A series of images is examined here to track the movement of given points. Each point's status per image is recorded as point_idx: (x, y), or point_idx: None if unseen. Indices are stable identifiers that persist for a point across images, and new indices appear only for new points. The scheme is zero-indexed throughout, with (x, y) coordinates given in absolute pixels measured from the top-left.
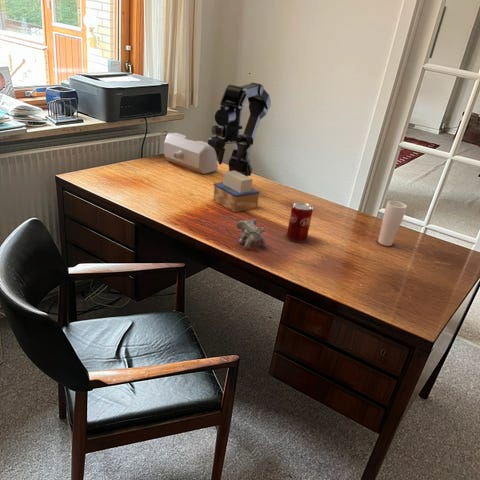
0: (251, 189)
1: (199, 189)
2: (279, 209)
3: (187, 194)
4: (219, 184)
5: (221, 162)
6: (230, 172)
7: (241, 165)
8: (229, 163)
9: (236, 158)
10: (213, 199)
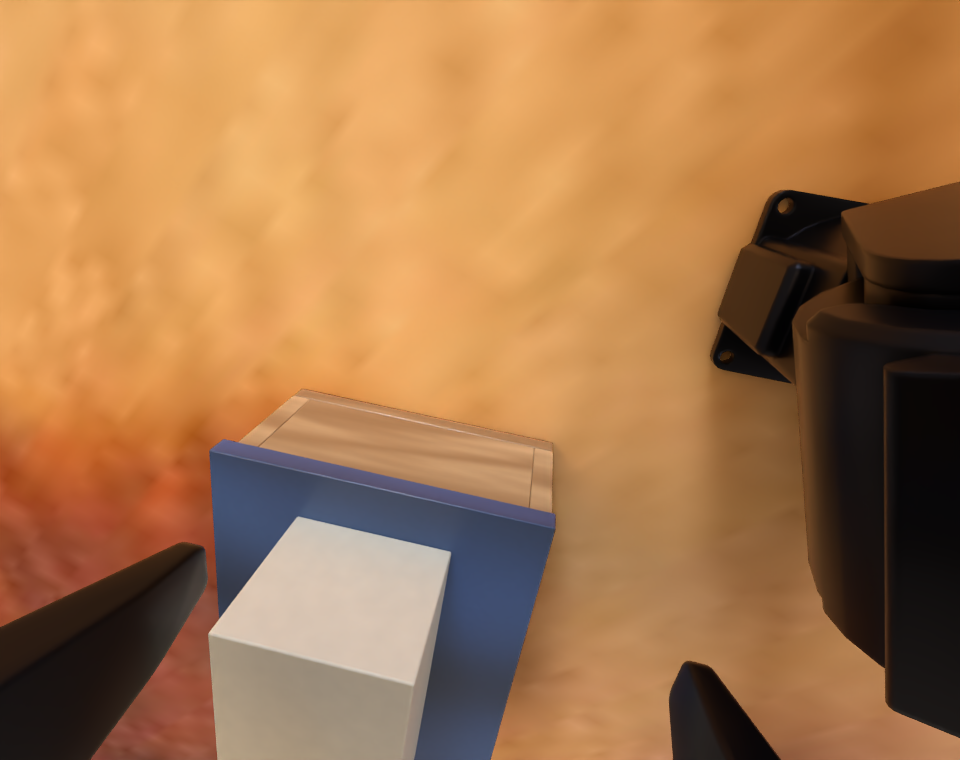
0: (457, 740)
1: (361, 89)
2: (613, 745)
3: (157, 143)
4: (251, 505)
5: (159, 639)
6: (282, 695)
7: (830, 590)
8: (806, 325)
9: (935, 550)
10: (298, 392)
